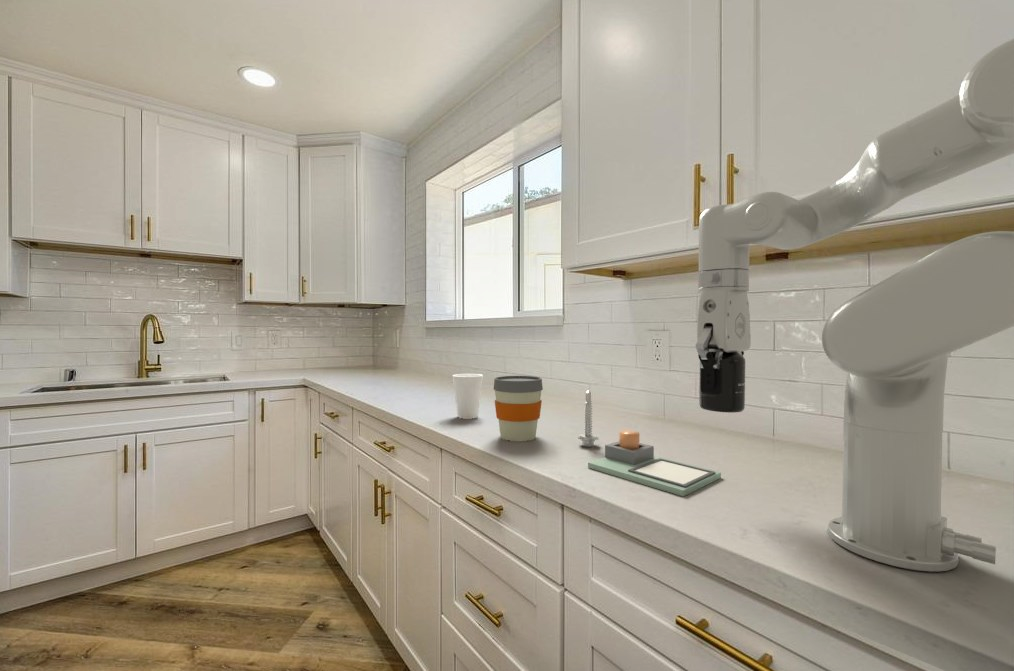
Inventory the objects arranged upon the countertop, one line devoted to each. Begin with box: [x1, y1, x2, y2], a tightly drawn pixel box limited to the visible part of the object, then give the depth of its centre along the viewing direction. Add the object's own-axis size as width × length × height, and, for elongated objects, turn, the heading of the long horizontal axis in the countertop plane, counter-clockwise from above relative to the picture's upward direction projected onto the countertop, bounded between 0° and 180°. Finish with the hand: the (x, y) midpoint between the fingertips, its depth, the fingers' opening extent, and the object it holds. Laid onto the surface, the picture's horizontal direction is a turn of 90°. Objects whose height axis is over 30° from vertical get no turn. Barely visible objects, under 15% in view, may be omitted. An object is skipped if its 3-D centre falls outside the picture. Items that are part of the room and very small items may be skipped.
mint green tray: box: [587, 440, 722, 497], centre depth 86 cm, size 20×14×4 cm
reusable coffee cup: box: [493, 375, 544, 442], centre depth 114 cm, size 12×13×15 cm
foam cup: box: [452, 373, 484, 420], centre depth 139 cm, size 10×9×13 cm
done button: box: [618, 429, 640, 450], centre depth 92 cm, size 4×4×4 cm
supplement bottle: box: [698, 347, 746, 414], centre depth 74 cm, size 7×7×12 cm
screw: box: [577, 390, 599, 448], centre depth 105 cm, size 13×5×5 cm
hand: (721, 390), depth 74 cm, fingers closed on supplement bottle, 6 cm apart
